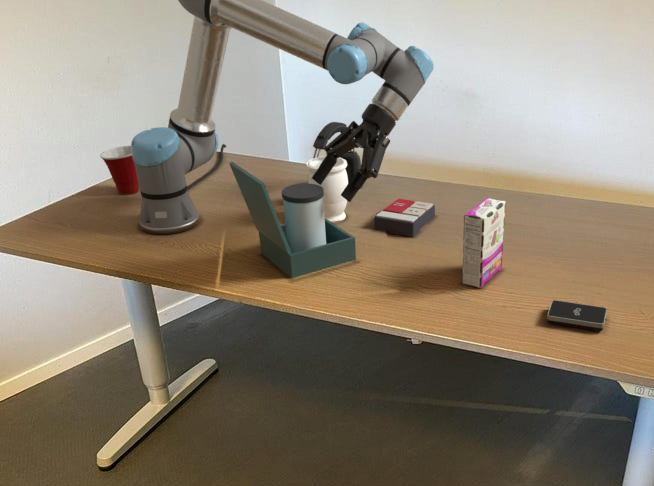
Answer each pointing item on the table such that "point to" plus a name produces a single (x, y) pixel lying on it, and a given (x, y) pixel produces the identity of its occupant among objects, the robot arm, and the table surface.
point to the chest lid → (260, 206)
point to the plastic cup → (122, 169)
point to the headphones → (350, 157)
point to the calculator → (404, 217)
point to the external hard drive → (577, 315)
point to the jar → (331, 188)
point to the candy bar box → (483, 242)
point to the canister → (304, 216)
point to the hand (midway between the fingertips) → (330, 190)
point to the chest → (312, 252)
